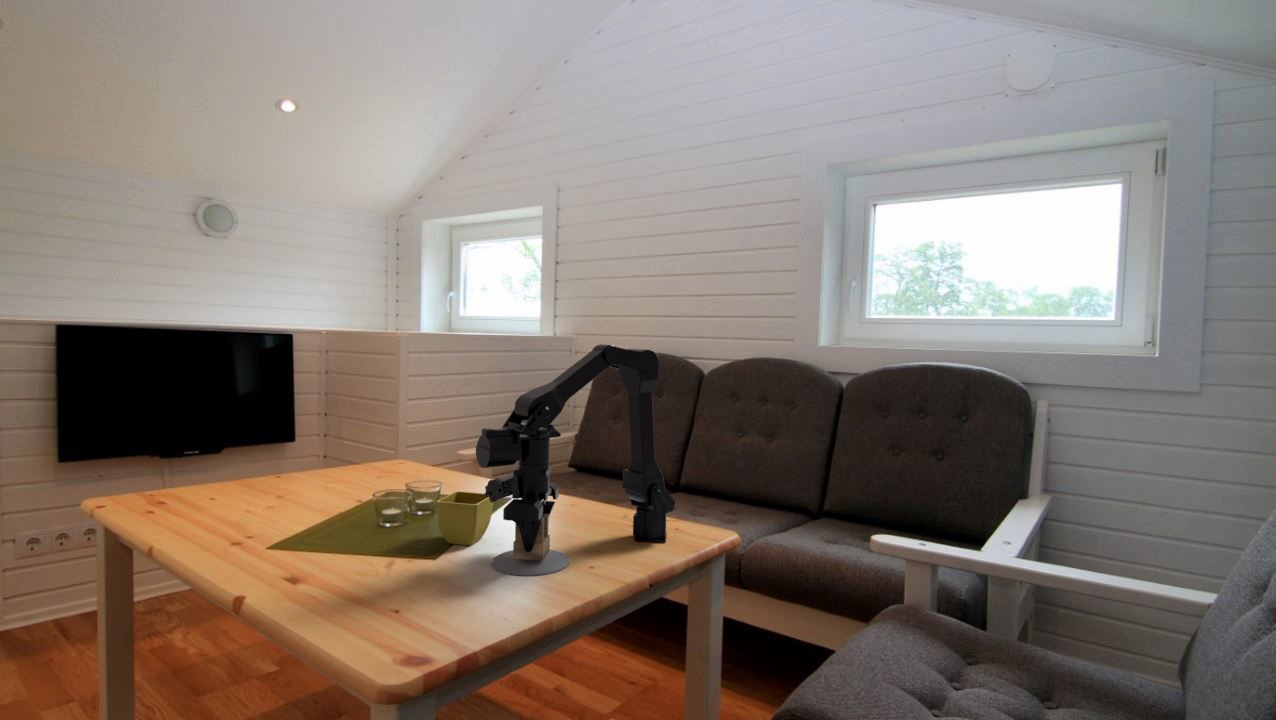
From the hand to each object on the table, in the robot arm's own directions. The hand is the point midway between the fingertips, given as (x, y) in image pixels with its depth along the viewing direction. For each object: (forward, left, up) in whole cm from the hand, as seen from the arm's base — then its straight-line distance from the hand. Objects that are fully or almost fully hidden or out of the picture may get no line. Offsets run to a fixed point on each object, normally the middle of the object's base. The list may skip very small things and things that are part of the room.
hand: (532, 546), depth 123 cm
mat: (0, 0, -3) cm, 3 cm away
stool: (0, 0, -2) cm, 2 cm away
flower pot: (+16, -10, -3) cm, 19 cm away
